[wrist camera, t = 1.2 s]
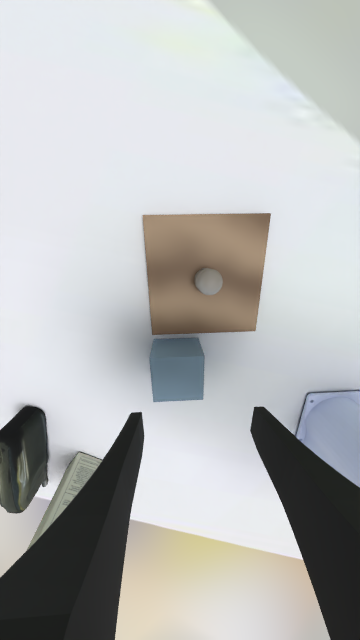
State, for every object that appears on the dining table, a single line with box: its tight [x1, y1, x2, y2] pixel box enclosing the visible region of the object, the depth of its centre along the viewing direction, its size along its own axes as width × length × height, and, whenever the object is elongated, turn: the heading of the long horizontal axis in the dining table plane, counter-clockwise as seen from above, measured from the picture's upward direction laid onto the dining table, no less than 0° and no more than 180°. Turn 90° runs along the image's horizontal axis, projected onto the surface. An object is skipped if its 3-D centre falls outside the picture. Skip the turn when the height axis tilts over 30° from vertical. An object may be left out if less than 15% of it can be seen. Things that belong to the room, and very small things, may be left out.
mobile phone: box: [0, 407, 48, 513], centre depth 22 cm, size 5×3×15 cm
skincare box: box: [27, 452, 102, 550], centre depth 20 cm, size 6×4×12 cm
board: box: [143, 213, 271, 335], centre depth 16 cm, size 11×11×4 cm
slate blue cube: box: [150, 338, 204, 402], centre depth 18 cm, size 5×5×4 cm
